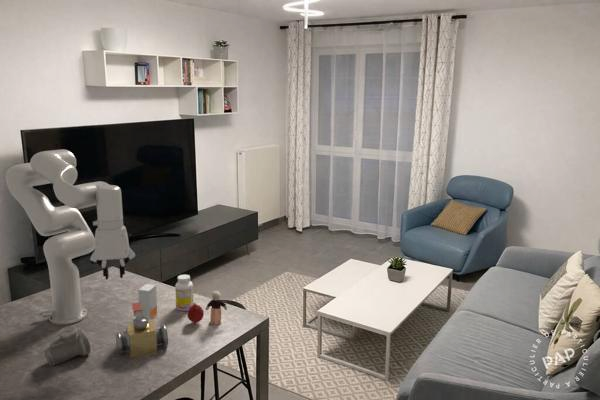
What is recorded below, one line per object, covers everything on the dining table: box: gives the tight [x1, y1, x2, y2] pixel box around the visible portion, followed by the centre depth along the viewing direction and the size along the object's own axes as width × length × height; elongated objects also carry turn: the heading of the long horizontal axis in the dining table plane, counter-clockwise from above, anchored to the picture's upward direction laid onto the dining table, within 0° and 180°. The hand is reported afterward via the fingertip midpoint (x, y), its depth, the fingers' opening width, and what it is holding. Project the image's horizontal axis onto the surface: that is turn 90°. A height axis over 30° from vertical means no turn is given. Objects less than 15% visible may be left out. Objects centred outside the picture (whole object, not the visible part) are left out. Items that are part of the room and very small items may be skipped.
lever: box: [131, 301, 149, 330], centre depth 160 cm, size 16×5×2 cm, turn 25°
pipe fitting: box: [44, 325, 91, 367], centre depth 149 cm, size 12×8×10 cm
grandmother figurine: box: [205, 290, 228, 326], centre depth 174 cm, size 8×4×13 cm, turn 102°
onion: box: [186, 302, 205, 324], centre depth 174 cm, size 6×6×8 cm
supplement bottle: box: [175, 274, 195, 312], centre depth 185 cm, size 7×7×13 cm
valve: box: [115, 318, 169, 359], centre depth 156 cm, size 15×8×8 cm, turn 115°
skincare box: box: [137, 283, 158, 320], centre depth 177 cm, size 6×4×12 cm
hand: (114, 276), depth 158 cm, fingers open, 3 cm apart
